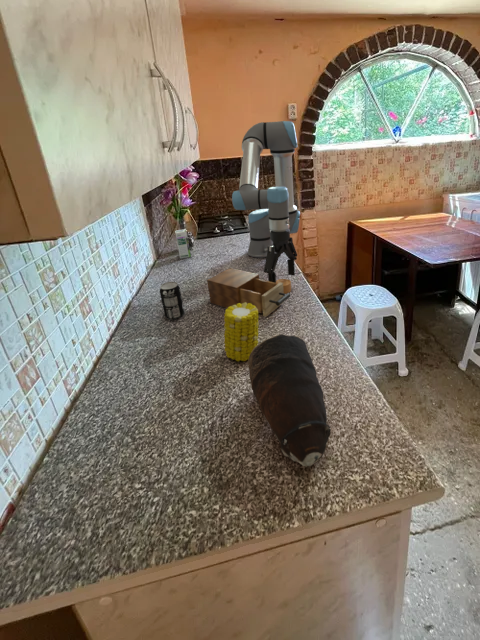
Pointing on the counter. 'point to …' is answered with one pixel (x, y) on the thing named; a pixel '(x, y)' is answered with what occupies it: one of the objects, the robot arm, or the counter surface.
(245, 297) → the drawer
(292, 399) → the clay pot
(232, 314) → the food
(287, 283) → the short wooden cylinder
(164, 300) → the beverage can
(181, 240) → the syrup box
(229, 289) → the cabinet
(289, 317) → the counter surface
